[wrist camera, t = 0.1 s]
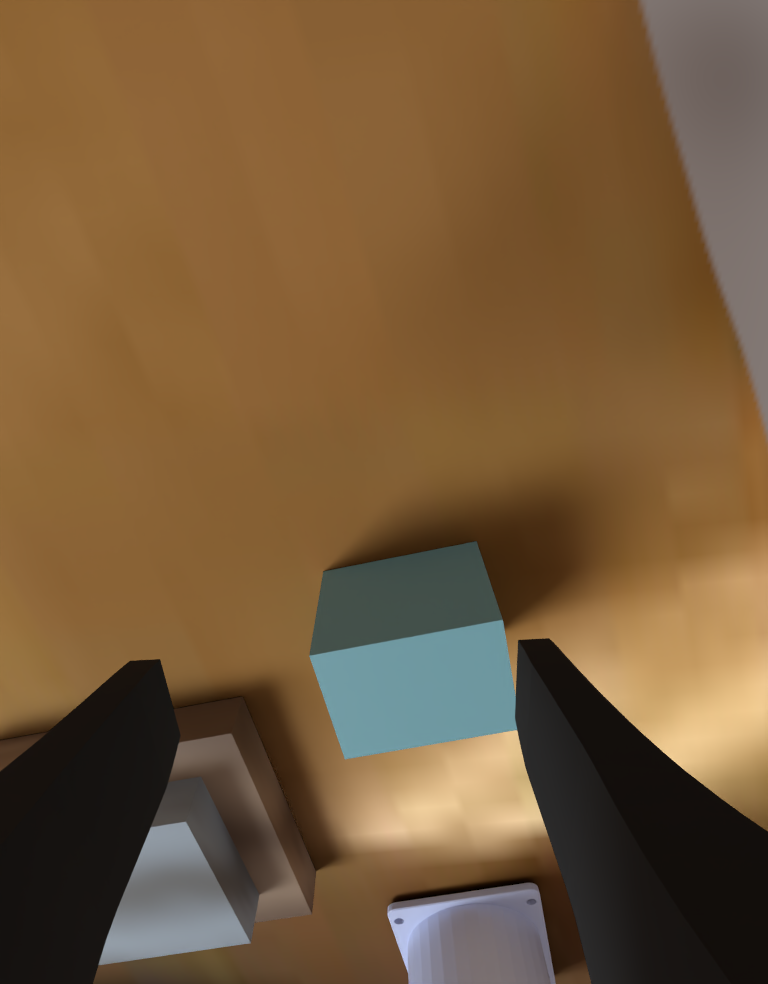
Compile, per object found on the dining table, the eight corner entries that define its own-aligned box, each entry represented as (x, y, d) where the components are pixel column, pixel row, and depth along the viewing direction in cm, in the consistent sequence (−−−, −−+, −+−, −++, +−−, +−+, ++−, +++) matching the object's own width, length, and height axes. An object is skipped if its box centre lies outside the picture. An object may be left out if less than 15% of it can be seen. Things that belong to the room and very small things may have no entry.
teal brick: (492, 633, 23) (521, 729, 19) (351, 660, 24) (345, 759, 19) (476, 540, 21) (502, 619, 17) (323, 570, 22) (309, 655, 17)
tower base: (316, 871, 29) (307, 962, 25) (97, 905, 30) (58, 997, 26) (242, 696, 24) (218, 776, 21) (-15, 743, 25) (-81, 827, 22)
